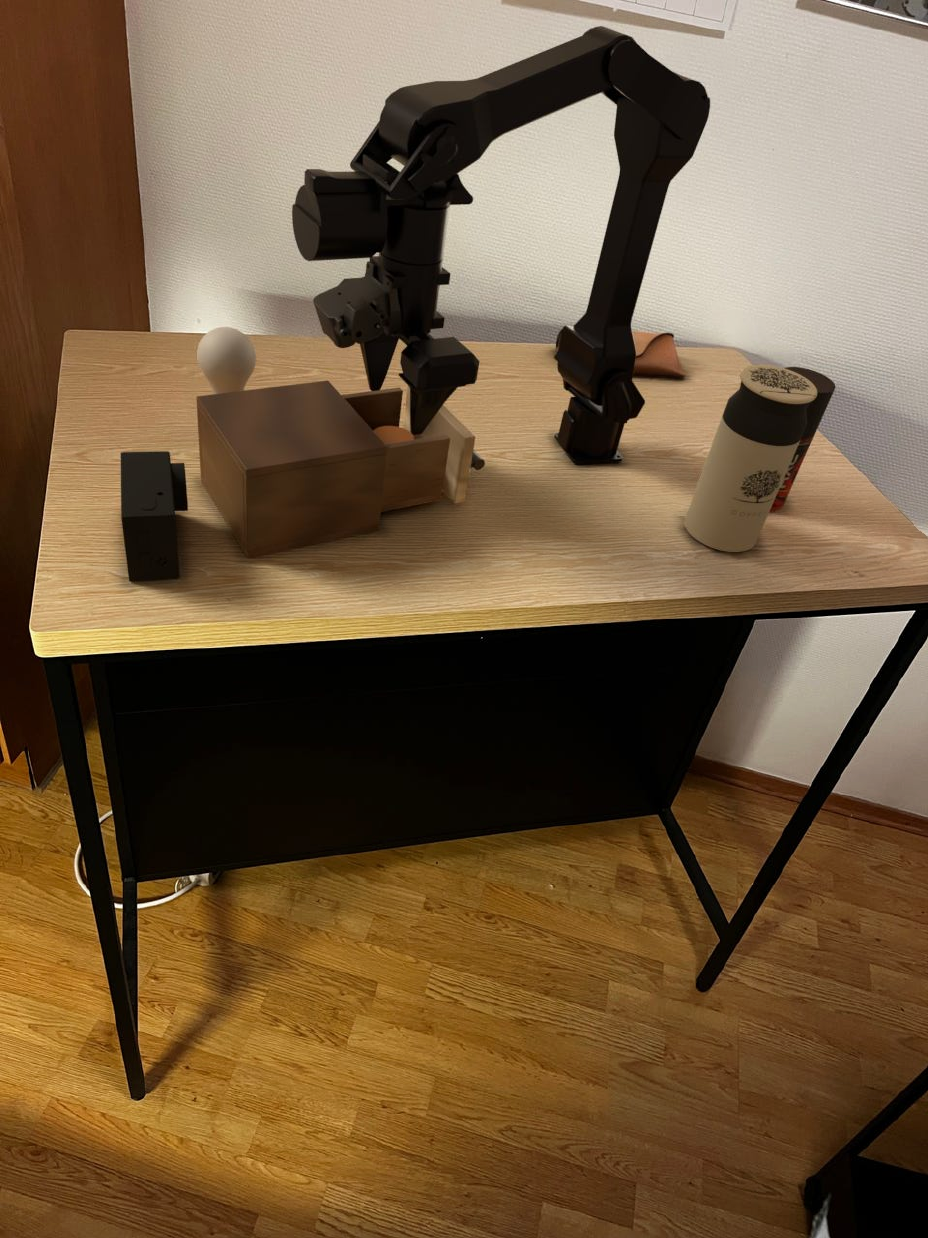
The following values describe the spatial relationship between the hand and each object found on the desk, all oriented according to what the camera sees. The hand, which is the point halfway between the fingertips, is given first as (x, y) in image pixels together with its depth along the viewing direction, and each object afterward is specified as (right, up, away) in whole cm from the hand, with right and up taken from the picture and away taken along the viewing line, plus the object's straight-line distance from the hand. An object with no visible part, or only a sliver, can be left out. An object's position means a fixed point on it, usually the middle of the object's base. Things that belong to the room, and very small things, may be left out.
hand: (395, 411), depth 90 cm
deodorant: (+41, -7, +16) cm, 45 cm away
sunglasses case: (+29, +16, +39) cm, 51 cm away
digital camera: (-21, -14, -7) cm, 26 cm away
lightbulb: (-20, +1, +11) cm, 23 cm away
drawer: (0, -6, +6) cm, 8 cm away
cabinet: (-11, -9, +1) cm, 14 cm away
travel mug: (+35, -11, +9) cm, 38 cm away
